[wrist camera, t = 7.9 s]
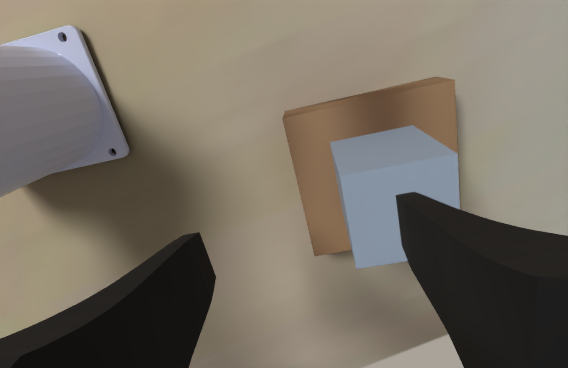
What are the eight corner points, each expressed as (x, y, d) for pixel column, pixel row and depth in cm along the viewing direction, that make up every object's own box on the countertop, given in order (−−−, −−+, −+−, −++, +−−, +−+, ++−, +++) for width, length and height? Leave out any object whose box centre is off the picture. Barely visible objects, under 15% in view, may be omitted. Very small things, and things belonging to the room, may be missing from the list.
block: (342, 213, 20) (356, 269, 14) (329, 142, 18) (339, 176, 13) (419, 200, 19) (461, 252, 14) (412, 125, 17) (457, 153, 12)
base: (313, 236, 23) (314, 256, 21) (285, 111, 20) (282, 118, 18) (444, 213, 22) (461, 232, 20) (435, 76, 19) (454, 79, 16)
